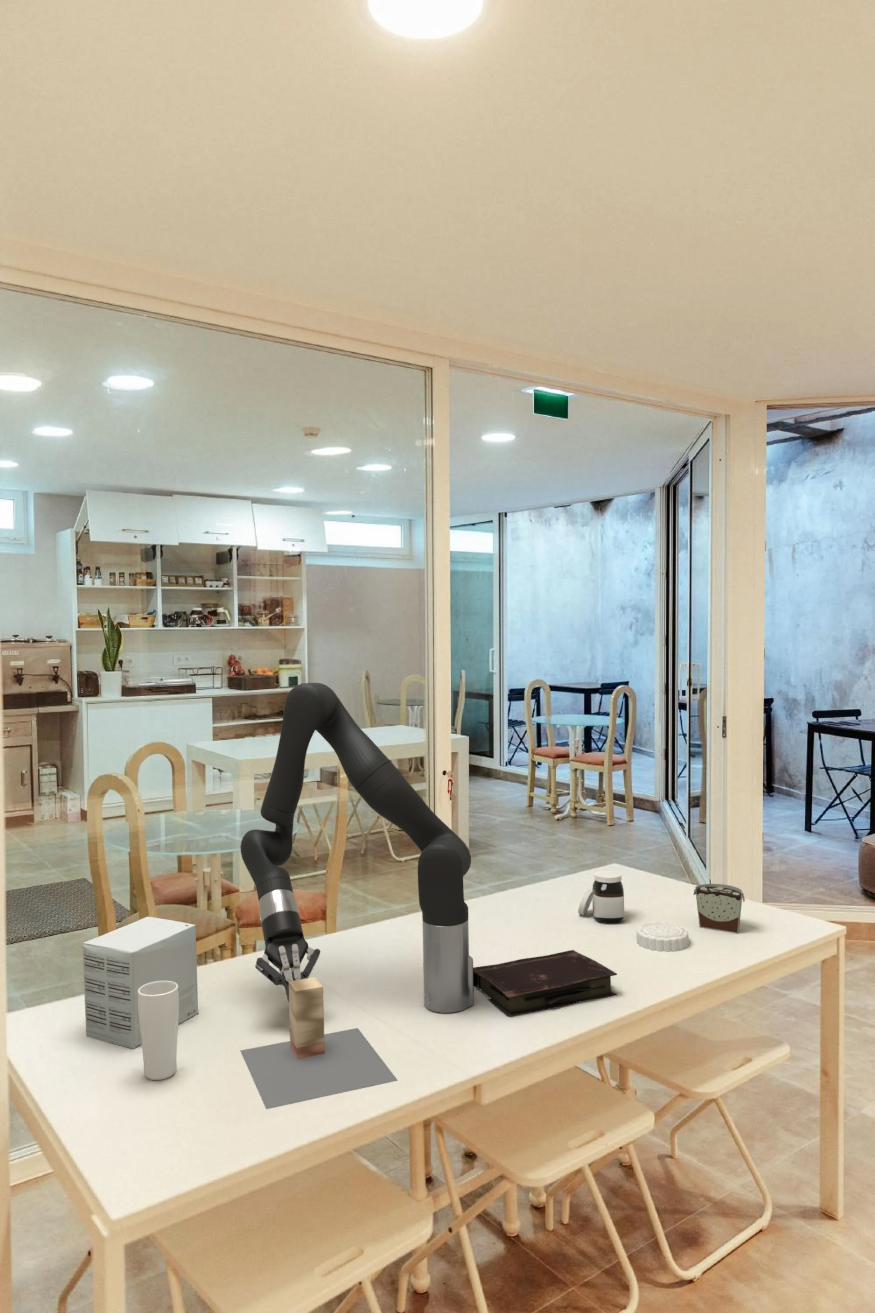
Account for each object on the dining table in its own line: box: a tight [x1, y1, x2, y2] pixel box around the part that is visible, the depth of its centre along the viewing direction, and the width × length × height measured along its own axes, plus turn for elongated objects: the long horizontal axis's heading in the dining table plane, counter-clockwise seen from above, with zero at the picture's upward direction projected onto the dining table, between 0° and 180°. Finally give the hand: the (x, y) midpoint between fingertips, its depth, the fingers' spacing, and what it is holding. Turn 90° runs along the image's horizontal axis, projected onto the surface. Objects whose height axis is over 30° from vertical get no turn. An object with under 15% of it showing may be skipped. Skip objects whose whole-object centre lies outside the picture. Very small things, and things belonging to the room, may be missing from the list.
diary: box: [473, 949, 618, 1017], centre depth 192 cm, size 19×25×5 cm
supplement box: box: [82, 916, 199, 1050], centre depth 179 cm, size 17×13×18 cm
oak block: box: [288, 976, 325, 1059], centre depth 166 cm, size 5×5×12 cm
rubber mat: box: [240, 1027, 398, 1110], centre depth 160 cm, size 22×22×1 cm
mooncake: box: [635, 922, 689, 953], centre depth 219 cm, size 12×12×4 cm
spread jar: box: [577, 870, 625, 924], centre depth 238 cm, size 12×11×12 cm
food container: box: [693, 883, 746, 934], centre depth 229 cm, size 12×6×10 cm, turn 58°
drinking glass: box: [138, 981, 179, 1081], centre depth 159 cm, size 7×7×15 cm
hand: (296, 1002), depth 172 cm, fingers closed
